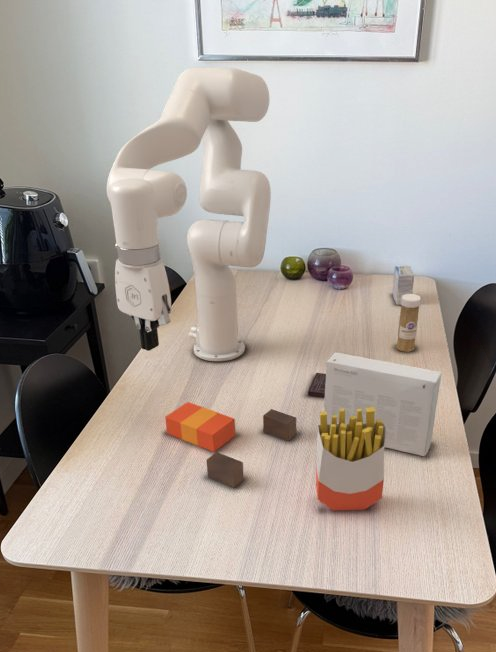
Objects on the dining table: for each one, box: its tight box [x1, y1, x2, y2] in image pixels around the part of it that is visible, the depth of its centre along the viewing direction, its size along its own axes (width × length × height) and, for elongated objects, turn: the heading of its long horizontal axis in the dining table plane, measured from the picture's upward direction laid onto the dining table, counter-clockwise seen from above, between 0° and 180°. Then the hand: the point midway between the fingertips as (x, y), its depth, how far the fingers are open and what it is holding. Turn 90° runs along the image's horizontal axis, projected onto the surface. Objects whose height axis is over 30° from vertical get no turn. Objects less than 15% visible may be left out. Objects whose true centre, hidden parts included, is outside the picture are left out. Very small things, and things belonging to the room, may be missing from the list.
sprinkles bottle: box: [396, 293, 422, 353], centre depth 161 cm, size 5×5×13 cm
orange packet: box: [164, 401, 236, 453], centre depth 133 cm, size 12×7×4 cm, turn 56°
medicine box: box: [392, 265, 415, 306], centre depth 188 cm, size 8×4×9 cm, turn 179°
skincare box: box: [323, 351, 442, 457], centre depth 128 cm, size 21×5×16 cm, turn 65°
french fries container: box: [315, 407, 386, 511], centre depth 111 cm, size 5×11×18 cm, turn 91°
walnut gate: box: [206, 408, 298, 489], centre depth 127 cm, size 6×21×4 cm, turn 146°
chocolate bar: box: [307, 372, 326, 399], centre depth 148 cm, size 9×1×18 cm
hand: (150, 347), depth 130 cm, fingers closed
